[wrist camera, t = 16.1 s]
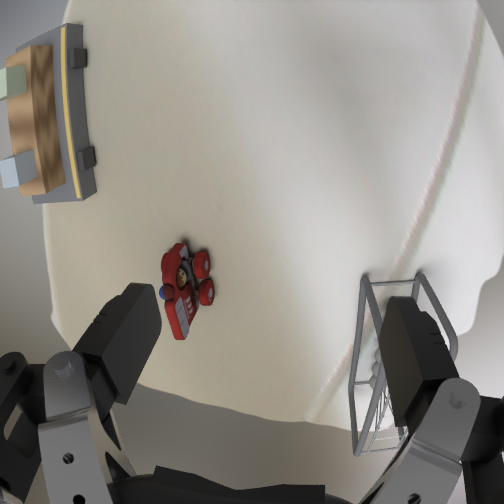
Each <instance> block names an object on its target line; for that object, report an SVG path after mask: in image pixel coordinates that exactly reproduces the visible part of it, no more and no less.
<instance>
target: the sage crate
mask: <svg viewBox="0 0 504 504" xmlns="http://www.w3.org/2000/svg"><path fill="white" fill-rule="evenodd" d="M25 92H27V78H26V65H24V66H12V67H5V68H3V69H2V70H0V101H2V100H7V99H11V98H13V97H16V96H18V95H20V94H23V93H25Z"/></svg>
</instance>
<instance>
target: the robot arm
mask: <svg viewBox="0 0 504 504" xmlns="http://www.w3.org/2000/svg"><path fill="white" fill-rule="evenodd" d="M161 326H162V321H161V315H160V311H159V307H158V303H157V299H156V295H155V290H154V287H153V286H152V285H151V284H143V283H130V284H129V285H128V286H127V287H126V289H125V290H124V292H123V293H122V294H121V295H117V296H116V297H114V298H113V299H111V300H110V301H109V302H107V303H106V304H105V306H104V307H103V308H102V310H101V311H100V312H99V315H97V316H96V318H95V319H94V320H93V323H91V324H90V326H89V327H88V329H87V330H86V331H85V333H84V334H83V336H82V337H81V338H80V340H79V341H78V343H77V344H76V345H75V347H74V348H73V350H72V351H63V352H59V353H57V354H55V355H53V356H52V357H51V358H50V359H49V360H48V361H47V362H46V364H28V362H27V360H26V359H25V357H24V356H23V354H21V353H19V352H10V353H7V354H5V355H3V356H2V357H1V358H0V504H24V503H25V499H26V497H27V495H28V492H29V489H30V487H31V484H32V482H33V479H34V477H35V474H36V472H37V470H38V467H39V465H40V463H41V460H42V464H43V470H44V476H45V481H46V486H47V490H48V495H49V499H50V504H352V503H350V502H349V501H346V500H344V499H342V498H339V497H336V496H333V495H329V494H325V485H288V484H287V485H286V484H281V485H275V486H268V487H261V488H253V489H245V490H234V489H231V488H228V487H226V486H223V485H220V484H218V483H215V482H213V481H210V480H208V479H205V478H203V477H201V476H198V475H196V474H192V473H187V472H182V471H178V470H173V469H169V468H165V467H160V466H156V468H155V471H154V474H145V475H137V473H136V471H135V470H134V468H133V466H132V464H131V463H130V461H129V459H128V457H127V455H126V452H125V449H124V446H123V443H122V440H121V437H120V434H119V431H118V428H117V425H116V422H115V418H114V415H113V412H112V410H111V407H112V405H113V403H114V402H117V403H121V404H124V405H126V404H127V402H128V399H129V398H130V395H131V393H132V391H133V389H134V387H135V385H136V383H137V381H138V378H139V376H140V374H141V372H142V370H143V368H144V366H145V364H146V362H147V360H148V358H149V356H150V354H151V351H152V349H153V347H154V345H155V343H156V341H157V339H158V337H159V335H160V332H161ZM379 349H380V353H381V357H382V362H383V366H384V371H385V375H386V380H387V385H388V389H389V394H390V400H391V405H392V410H393V416H394V421H395V427H403V426H407V428H408V433H409V434H408V435H407V436H406V438H405V439H404V441H403V443H402V444H401V446H400V447H399V449H398V451H397V452H396V454H395V455H394V457H393V458H392V460H391V461H390V463H389V464H388V466H387V467H386V469H385V470H384V472H383V473H382V475H381V476H380V477H379V479H378V480H377V481H376V483H375V484H374V485H373V487H372V488H371V489H370V490H369V491H368V492H367V494H366V495H365V496H364V497H363V499H362V500H361V501H360V502H359V503H358V504H447V502H448V500H449V498H450V496H451V494H452V492H453V490H454V488H455V486H456V484H457V482H458V479H459V477H460V475H461V472H462V469H463V476H464V484H465V492H466V501H467V504H504V462H503V458H502V452H503V451H504V396H503V398H502V399H500V398H493V397H486V396H480V395H479V392H478V390H477V389H476V387H475V386H474V385H473V384H472V383H470V382H469V381H466V380H464V379H461V378H460V377H459V374H458V372H457V369H456V367H455V364H454V362H453V359H452V357H451V355H450V352H449V350H448V348H447V345H446V344H445V341H444V338H443V336H442V335H441V332H440V329H439V327H438V325H437V323H436V321H435V320H434V319H433V318H432V317H431V316H430V315H429V314H428V313H427V312H426V311H420V310H419V308H418V306H417V303H416V301H415V299H414V298H413V297H409V296H392V297H391V298H390V299H389V302H388V306H387V309H386V313H385V316H384V320H383V323H382V327H381V330H380V335H379ZM15 406H17V407H18V408H19V409H20V410H21V411H22V413H21V415H20V417H19V419H18V421H17V422H16V424H15V426H14V428H13V430H12V432H11V434H10V436H9V438H8V440H6V439H5V437H4V426H5V424H6V422H7V420H8V419H9V417H10V415H11V413H12V411H13V410H14V408H15ZM460 460H461V463H462V464H460V463H459V461H460Z"/></svg>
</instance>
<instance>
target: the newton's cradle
mask: <svg viewBox="0 0 504 504" xmlns="http://www.w3.org/2000/svg"><path fill="white" fill-rule="evenodd" d="M420 282H421V284H422V286H423V288H424V290H425V292H426V294H427V295H428V297H429V299H430V301H431V303H432V305H433V307H434V309H435V311H436V313H437V315H438V317H439V319H440V321H441V324H442V326H443V328H444V330H445V332H446V334H447V336H448V339H449V343H450V351H449V352H450V355H451V357H452V359H453V362H454V361H455V358H456V356H457V352H458V340H457V336H456V333H455V331H454V329H453V327H452V325H451V323H450V321H449V319H448V317H447V315H446V313H445V311H444V310H443V308H442V306H441V304H440V302H439V300H438V298H437V296H436V295H435V293H434V291H433V289H432V287H431V286H430V284H429V282H428V280H427V279H426V277H425V276H424V274H422V273H419V274H417V275H416V277H415V280H414V281H405V282H392V283H377V284H371V283H370V281H369V279H368V278H367V277H363V278H362V279H361V283H360V294H359V306H358V316H357V326H356V335H355V343H354V351H353V359H352V366H351V373H350V380H349V387H348V394H349V405H350V417H351V430H352V443H353V454H354V456H356V457H357V456H359V455H360V454H362V453H372V452H379V451H387V450H393V449H399V446H400V445H401V444H402V443H403V441H404V439H405V435H406V434H407V432H408V428H407V429H406V431H405V433H404V429H403V427H398V433H399V439H400V442H399V444H398V446H397V447H394V448H387V449H380V450H372V451H370V448H371V446H372V444H373V441H374V440H375V436H376V434H377V431H378V430H379V427H380V424H381V421H382V418H384V413H385V410H386V408H387V405H388V404H389V407H390V404H391V403H389V399H390V394H389V390H388V396H387V397H386V395H385V389H384V388H386V386H387V380H386V375H385V371H384V366H383V362H382V357H381V353H380V349H379V348H378V349H377V351H376V354H375V357H376V360H377V361H376V362H375V363H374V365H373V368H372V371H373V375H372V376H371V378H370V382H362V383H354V382H355V376H356V370H357V364H358V357H359V350H360V343H361V336H362V328H363V320H364V312H365V302H366V296H367V300H368V303H369V307H370V310H371V314H372V318H373V321H374V325H375V329H376V333H377V337H378V342H379V335H380V330H381V327H382V323H383V320H384V316H385V313H386V312H385V313H384V314H383V316H382V318H381V315H380V312H379V308H378V305H377V302H376V299H375V296H374V293H373V289H372V286H384V285H398V284H411V283H414V285H413V291H412V296H411V297H413V298H414V299H415V301H416V303H417V298H418V293H419V288H420ZM359 384H370V386H371V387H372V388H373V389H374V390H373V394H372V398H371V402H370V405H369V409H368V412H367V416H366V419H365V422H364V425H363V429H362V432H361V435H360V438H359V441H358V433H357V421H356V411H355V401H354V385H359ZM383 389H384V391H383V393H384V408H383V411H382V414H381V401H380V415H381V417H380V416H379V422H378V425H377V416H376V426H377V428H376V427H375V433H374V435H373V438H372V441H371V443H370V445H369V448H368V450H367V451H364V452H361V451H362V448H363V446H364V443H365V440H366V438H367V435H368V432H369V429H370V426H371V424H372V421H373V418H374V415H375V412H376V408H377V414H378V402H379V399H380V396H381V399H382V390H383ZM385 397H386V402H385ZM390 409H391V407H390ZM391 411H392V409H391ZM392 414H393V412H392ZM388 417H392V416H388ZM383 429H387V428H383ZM397 437H398V436H397ZM386 439H387V438H386Z"/></svg>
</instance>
